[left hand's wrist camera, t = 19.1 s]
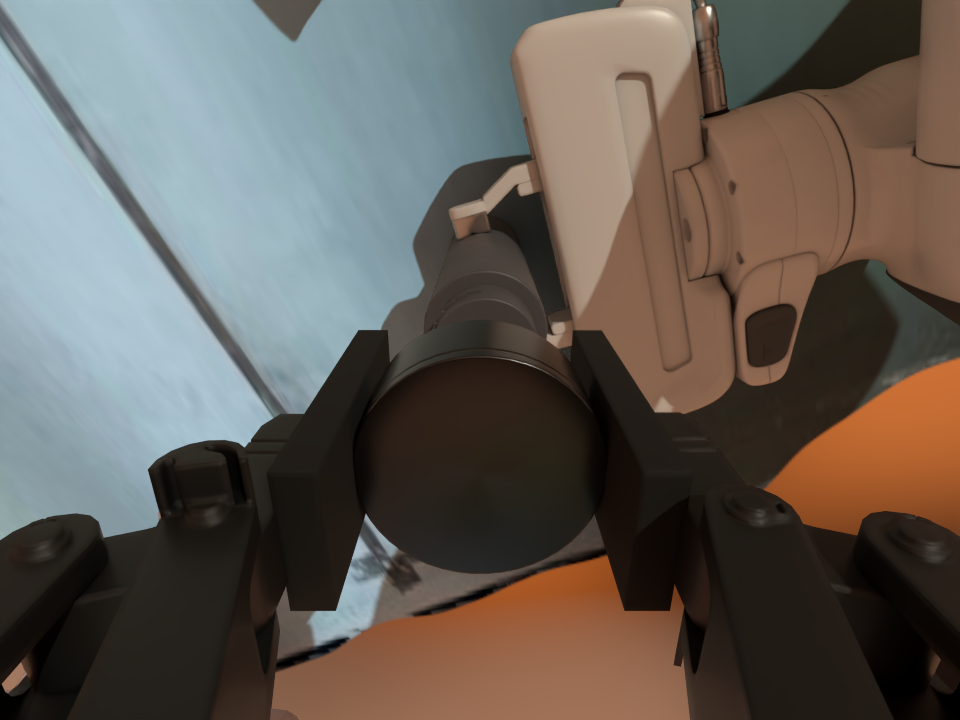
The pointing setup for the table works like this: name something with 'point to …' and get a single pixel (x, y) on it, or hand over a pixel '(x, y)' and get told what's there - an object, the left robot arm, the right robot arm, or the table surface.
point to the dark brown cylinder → (486, 283)
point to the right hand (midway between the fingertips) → (468, 279)
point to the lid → (480, 449)
